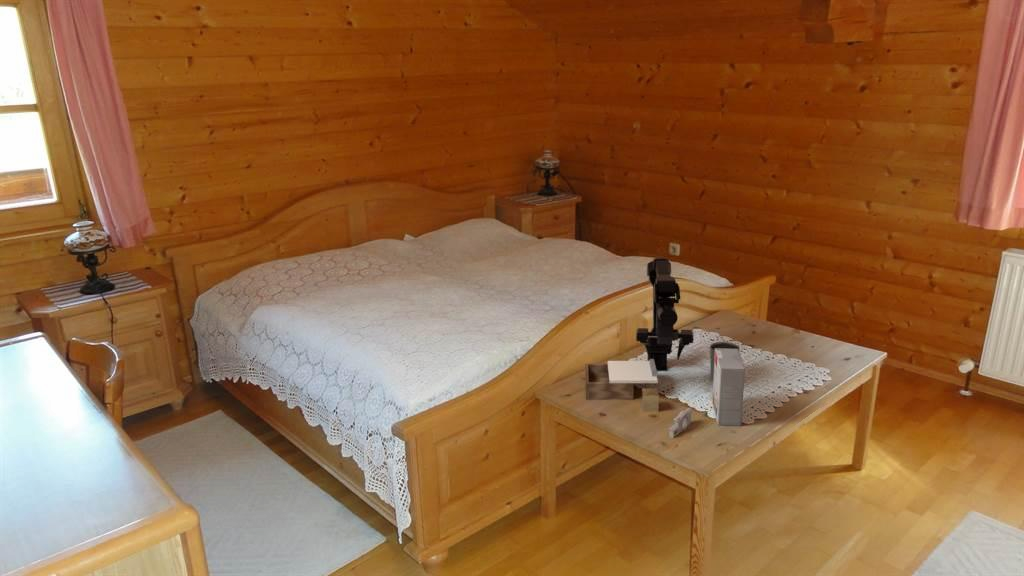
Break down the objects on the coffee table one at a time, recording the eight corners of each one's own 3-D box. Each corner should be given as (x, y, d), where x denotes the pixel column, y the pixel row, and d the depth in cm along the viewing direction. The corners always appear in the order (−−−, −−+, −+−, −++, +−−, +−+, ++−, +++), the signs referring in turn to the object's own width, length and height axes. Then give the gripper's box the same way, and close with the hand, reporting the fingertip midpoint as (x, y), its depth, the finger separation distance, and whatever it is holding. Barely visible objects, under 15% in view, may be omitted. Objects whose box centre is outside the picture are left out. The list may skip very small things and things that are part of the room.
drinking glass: (711, 384, 250) (713, 353, 246) (705, 372, 260) (706, 341, 256) (740, 383, 250) (743, 352, 246) (733, 371, 259) (735, 341, 256)
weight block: (656, 404, 238) (657, 388, 236) (658, 411, 233) (658, 395, 231) (641, 404, 238) (641, 388, 236) (642, 411, 234) (643, 395, 232)
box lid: (652, 363, 254) (652, 355, 253) (657, 383, 239) (657, 375, 238) (607, 363, 256) (607, 355, 255) (609, 383, 241) (609, 375, 240)
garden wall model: (673, 438, 217) (673, 421, 215) (668, 437, 218) (668, 419, 216) (692, 423, 225) (692, 406, 224) (687, 421, 227) (687, 405, 225)
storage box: (629, 378, 257) (630, 363, 255) (633, 399, 242) (633, 383, 240) (585, 378, 258) (585, 363, 257) (585, 399, 243) (585, 383, 241)
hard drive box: (711, 402, 238) (714, 347, 231) (735, 403, 236) (739, 348, 230) (716, 425, 223) (720, 367, 217) (742, 426, 222) (746, 368, 216)
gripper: (636, 323, 232) (635, 367, 237) (694, 325, 229) (693, 369, 233) (637, 312, 243) (636, 354, 248) (693, 313, 239) (691, 356, 244)
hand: (663, 358), depth 243 cm, fingers open, 9 cm apart
